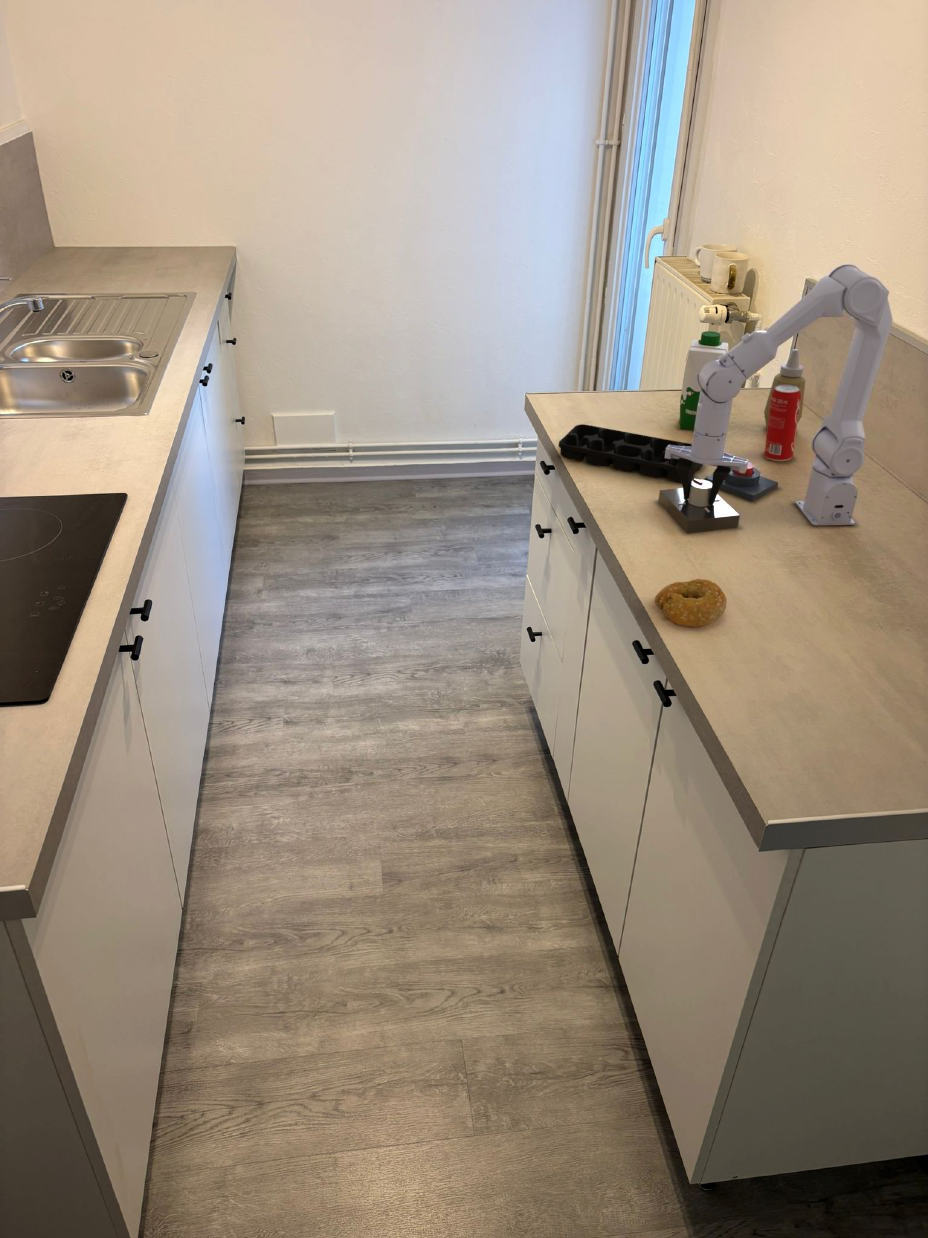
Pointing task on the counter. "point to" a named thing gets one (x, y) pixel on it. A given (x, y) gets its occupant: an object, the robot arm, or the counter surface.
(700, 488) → the hob knob
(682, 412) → the milk carton
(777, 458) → the beverage can
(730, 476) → the switch block
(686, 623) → the bagel
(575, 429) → the egg carton
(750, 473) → the power button
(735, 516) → the panel
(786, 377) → the squeeze bottle
